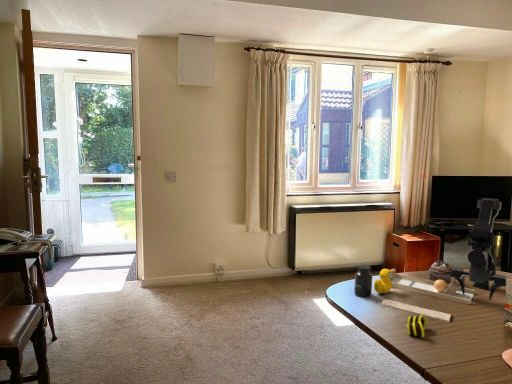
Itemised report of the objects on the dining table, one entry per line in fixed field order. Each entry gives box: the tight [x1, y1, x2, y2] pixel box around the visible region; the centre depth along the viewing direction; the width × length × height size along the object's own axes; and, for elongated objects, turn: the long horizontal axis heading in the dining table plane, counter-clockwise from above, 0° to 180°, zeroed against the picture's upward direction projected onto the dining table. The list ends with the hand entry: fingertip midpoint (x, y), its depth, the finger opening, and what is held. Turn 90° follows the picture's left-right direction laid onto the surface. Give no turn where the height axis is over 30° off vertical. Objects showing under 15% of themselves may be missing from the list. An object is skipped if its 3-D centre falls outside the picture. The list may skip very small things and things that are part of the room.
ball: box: [434, 280, 447, 292], centre depth 153 cm, size 5×5×5 cm
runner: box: [391, 278, 475, 303], centre depth 156 cm, size 12×32×1 cm, turn 53°
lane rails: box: [389, 268, 475, 305], centre depth 157 cm, size 14×34×4 cm, turn 53°
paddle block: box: [446, 278, 461, 296], centre depth 150 cm, size 8×3×4 cm, turn 145°
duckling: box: [373, 268, 394, 294], centre depth 153 cm, size 11×5×10 cm, turn 125°
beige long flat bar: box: [380, 298, 452, 323], centre depth 137 cm, size 24×7×2 cm, turn 55°
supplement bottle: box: [353, 264, 373, 299], centre depth 150 cm, size 7×7×12 cm
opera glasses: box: [406, 315, 427, 338], centre depth 120 cm, size 10×5×5 cm, turn 152°
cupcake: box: [428, 259, 453, 284], centre depth 166 cm, size 10×10×10 cm
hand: (476, 297), depth 146 cm, fingers open, 9 cm apart
